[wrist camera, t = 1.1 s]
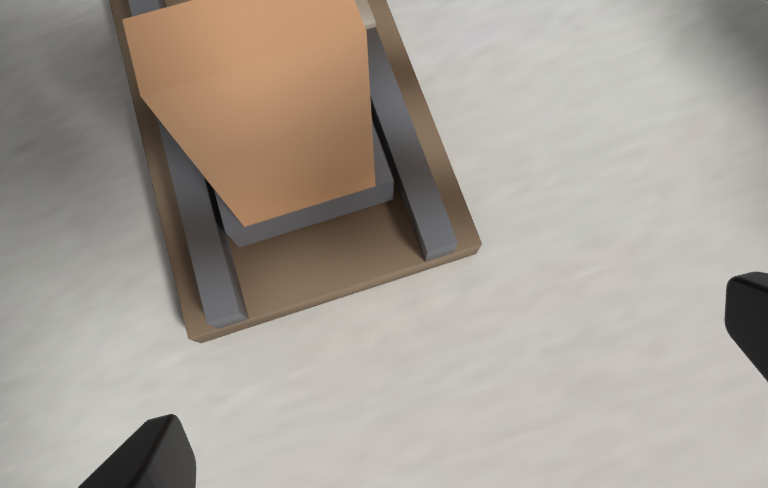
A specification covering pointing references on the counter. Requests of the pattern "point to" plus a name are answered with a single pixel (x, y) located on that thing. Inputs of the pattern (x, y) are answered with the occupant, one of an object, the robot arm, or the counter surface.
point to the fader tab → (266, 107)
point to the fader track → (318, 241)
